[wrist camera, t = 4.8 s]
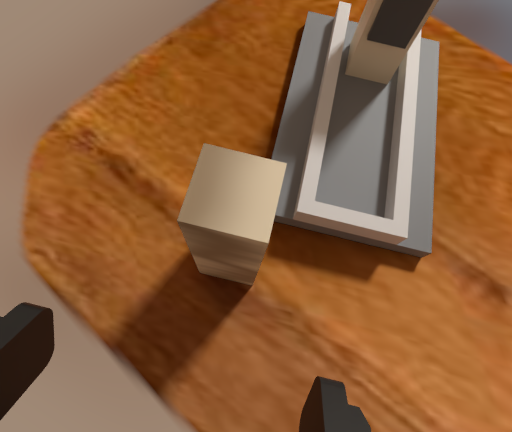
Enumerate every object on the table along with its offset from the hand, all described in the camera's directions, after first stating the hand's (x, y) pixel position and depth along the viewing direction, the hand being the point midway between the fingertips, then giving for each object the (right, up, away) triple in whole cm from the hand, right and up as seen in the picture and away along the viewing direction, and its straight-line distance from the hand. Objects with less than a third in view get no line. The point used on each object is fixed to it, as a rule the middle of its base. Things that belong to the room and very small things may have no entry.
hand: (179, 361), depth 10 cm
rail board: (+11, +12, +17) cm, 23 cm away
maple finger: (+1, +2, +13) cm, 13 cm away
